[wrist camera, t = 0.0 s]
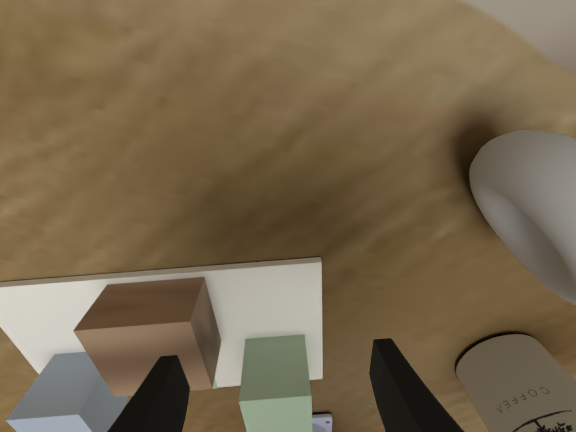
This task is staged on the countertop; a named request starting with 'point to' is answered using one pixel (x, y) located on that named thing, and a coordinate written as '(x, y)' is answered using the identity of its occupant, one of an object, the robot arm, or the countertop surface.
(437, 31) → the countertop surface
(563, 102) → the countertop surface
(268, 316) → the white rectangular board
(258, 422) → the sage cube
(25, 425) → the slate cube
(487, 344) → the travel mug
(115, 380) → the walnut base
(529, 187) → the donut
